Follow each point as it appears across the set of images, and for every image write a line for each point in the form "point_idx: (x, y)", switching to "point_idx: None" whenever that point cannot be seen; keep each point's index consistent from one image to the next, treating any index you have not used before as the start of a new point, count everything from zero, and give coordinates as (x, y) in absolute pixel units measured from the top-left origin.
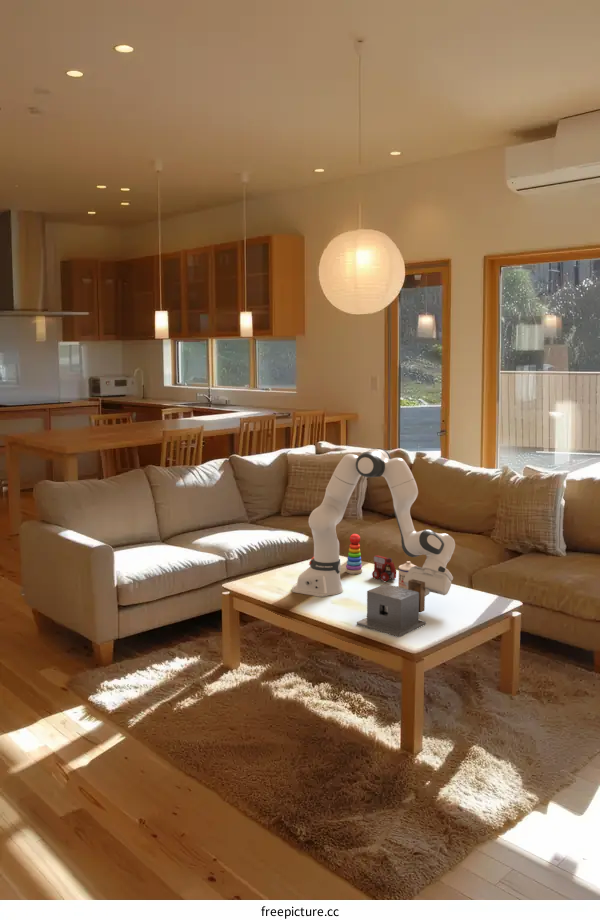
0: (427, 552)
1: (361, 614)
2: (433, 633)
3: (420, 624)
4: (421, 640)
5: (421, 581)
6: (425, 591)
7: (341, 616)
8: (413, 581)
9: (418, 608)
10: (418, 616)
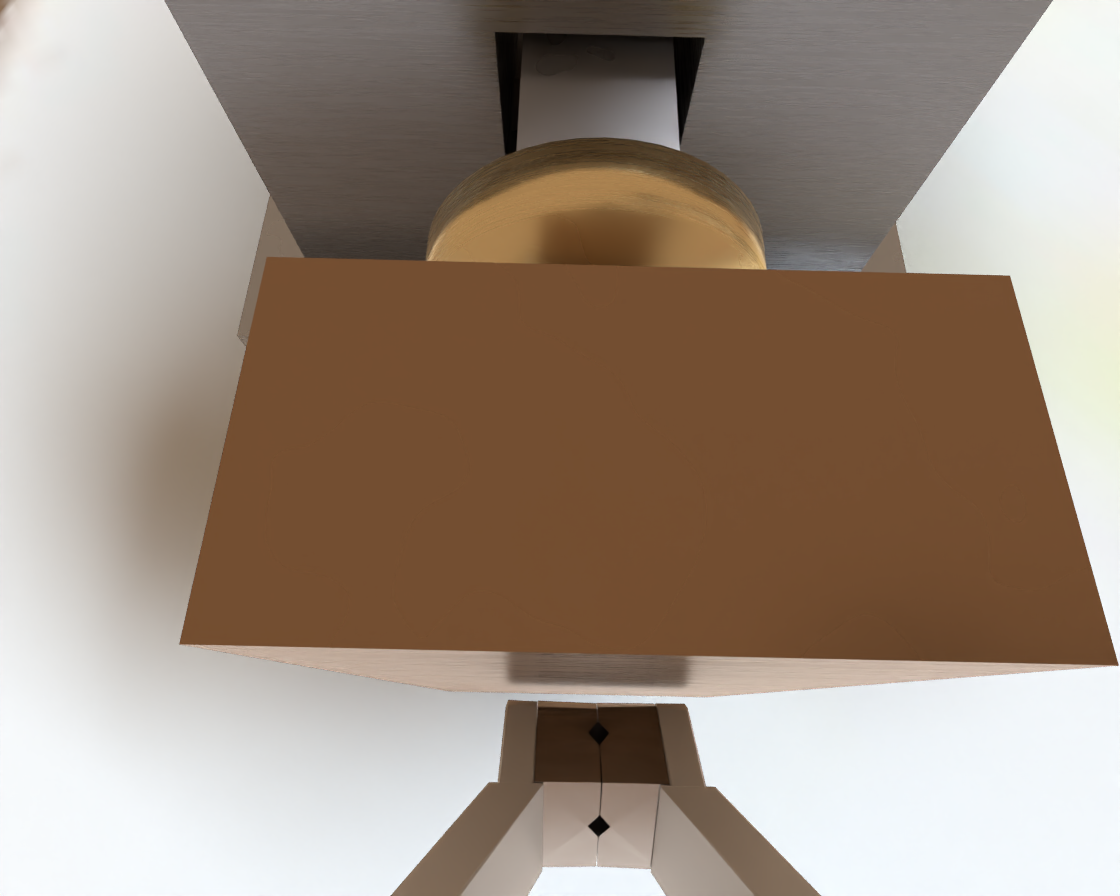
0: None
1: (1035, 191)
2: (69, 201)
3: (262, 238)
4: (121, 20)
5: (419, 605)
6: (442, 876)
7: (1107, 51)
8: (753, 325)
9: (238, 126)
10: (291, 229)
